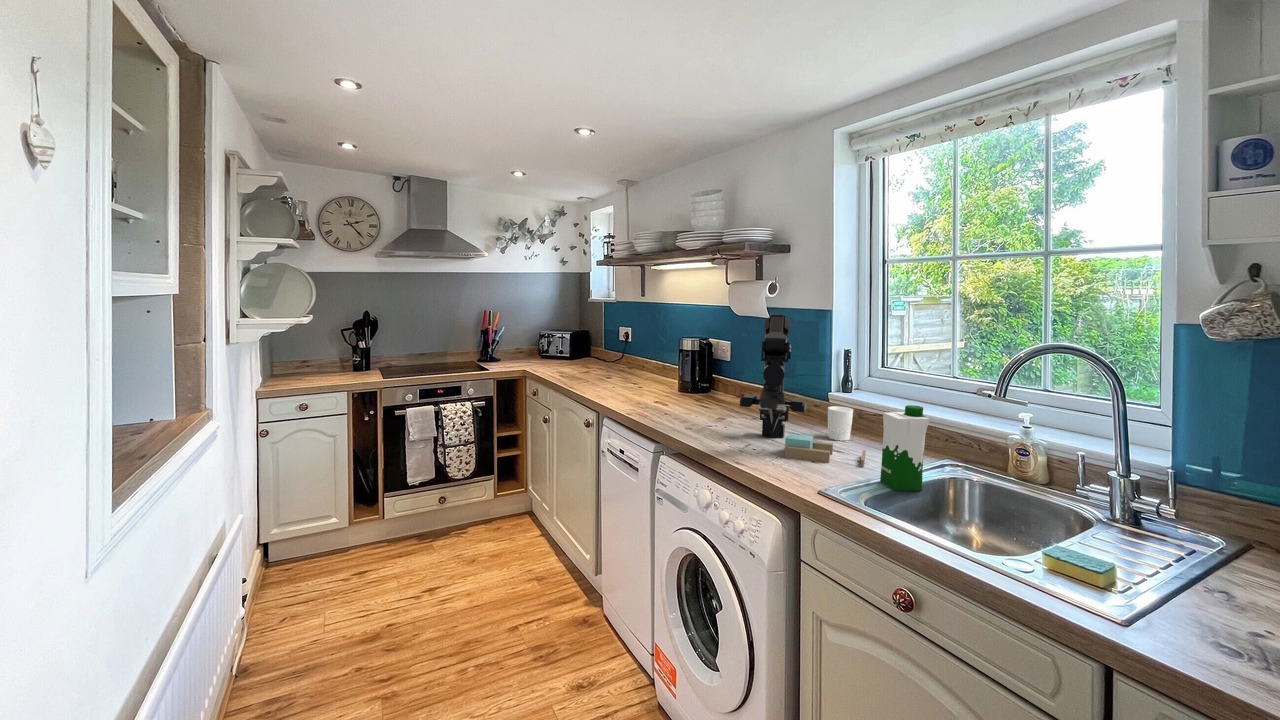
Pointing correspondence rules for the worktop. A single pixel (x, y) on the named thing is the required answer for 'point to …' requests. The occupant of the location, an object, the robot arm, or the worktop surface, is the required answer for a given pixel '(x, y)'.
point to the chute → (815, 452)
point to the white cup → (839, 422)
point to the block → (799, 441)
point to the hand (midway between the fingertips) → (771, 431)
